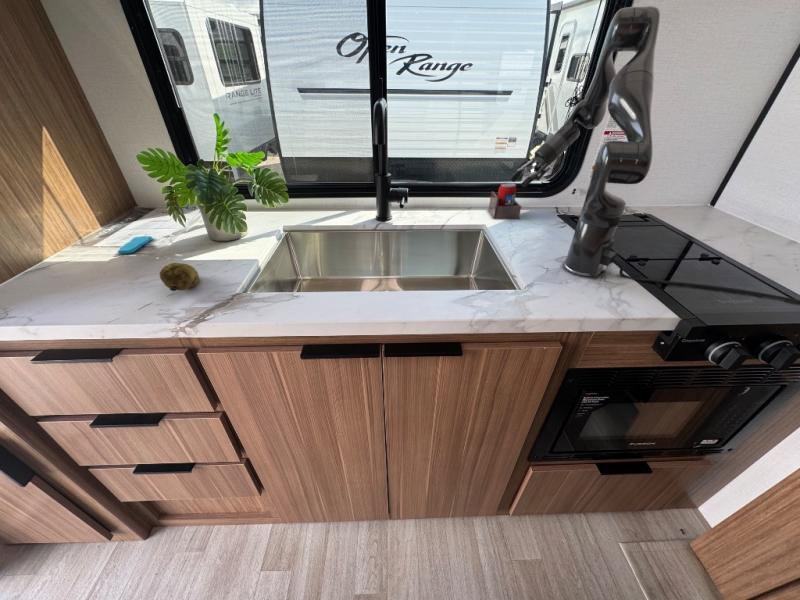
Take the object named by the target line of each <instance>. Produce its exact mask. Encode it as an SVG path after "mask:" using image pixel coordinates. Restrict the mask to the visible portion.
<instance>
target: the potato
mask: <svg viewBox="0 0 800 600" xmlns="http://www.w3.org/2000/svg"><path fill="white" fill-rule="evenodd" d="M159 278H160V281H161V282H162V283H163V285H165V287H167V288H168V289H169V290H170V291H171V292H176V291H186V290H187V289H190V288H193V287H195V286H196V285H197V284H198V283H199V279H200V276H199V272H198V271H197V269H196V268H194V267H193V266H192V265H190V264H188V263H181V262H171V263H168V264H166V265H164V266H163V267H162V269H160V271H159Z"/></svg>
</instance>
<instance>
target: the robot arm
mask: <svg viewBox="0 0 800 600" xmlns="http://www.w3.org/2000/svg"><path fill="white" fill-rule="evenodd" d="M660 20H661V11H660V9H659V7H657V6H652V5H649V6H646V5H645V6H643V5H642V6H629V7H628V6H627V7H622V8H620V9H619V10H617V11H616V13H615V14H614V16H613V18H612V20H611V22H610V24H609V27H608V29H607V32H606V35H605V39H604V42H603V45H602V48H601V51H600V54H599V57H598V61H597V64H596V67H595V68H596V69H595V72H594V74H593V78H592V80H591V82H590V85H589V87H588V90H587V92H586V94H585V96H584V99H582V100H580V101H579V102H578V103H577V104H576V106H575V107H574V109H573V110H572V112H571V114H570V115H569V117H568V118H567V119H566V121H565V122H564V124H562V126H561V127H559V129H557V131H556V132H555V133H554V134H553V135H551V136H550V137H548V138H547V140H546V141H545V142H543V144H541V146H539V148H538V149H537V150H535V151H534V156H533V157H532V158H530V157H529V156H527V157H525V158H524V159H523V161H521V162H520V163H519V164H518V165H517V166H516V167H515V169H516V172H515V173H514V174H513V175H511V177H510V181H512V183H515V182H516V181H517V180H518V179H519V178H520V177H521V176H522V175H524V174H528V173H530V174H529V175H528V176H527V177H526V178H524V180H523V181H522V182H520V183H521V184H520V185H521V186H522V187H523V188H526V187H528V186H529V185H530V184H531V183H532V182H534V181H540V179H542V177H544V176H545V175H546V173H548V171H550V170H551V167H550V165H552V164H553V163H554V162H555V161H556V160H557V159H558V158H559V157H560V156H561V155H562V154H564V152H565V151H566V149H568V148H569V147H570V146H571V145H572V144H573V142H575V141H576V140H577V139H578V138H579V136H580V134H581V132H580V129H579V127H578V126H577V124H576V122H578V123H579V124H580V125H581V126H583V127H584V128H586V129H588V130H591V129H595V128H596V127H598V126H599V125H600V124H601V123H602V121H603V120H604V118H605V116H606V111H608V113H609V115H610V117H611V119H612V120H613V122H614V123H615V124H616V125H617V126H618V128H619V129H620V130H621V131H622V132H623V134H624V136H625V138H626V140H627V141H624V140H609V141H606V142H604V144H602V146H601V147H600V149H599V151H598V153H597V154H596V155H597V156H596V158H595V162H594V165H593V170H592V174H591V178H590V181H589V185H588V188H587V192H586V195H585V199H584V202H583V205H582V208H581V211H580V215H579V217H578V219H577V223H576V227H575V230H574V233H573V237H572V239H571V242H570V245H569V249H568V252H567V255H566V258H565V261H564V263H563V268H564V269H565V270H566V271H568V272H569V273H571V274H574V275H578V276H582V277H590V278H593V279H594V278H596V277H597V276H598V275H600V273H602V272H603V270H604V269H605V266H606V267H608V266H610V265H611V264H612V263H614V264H615V265H617V266H618V268H619V271H618V274H619V276H621V277H623V278H627V279H631V280H635V281H641V282H651V283H658V284H666V285H676V286H677V285H678V286H687V287H688V286H689V287H690V286H691V287H697V288H706V289H715V290H723V291H729V292H736V293H742V294H748V295H749V294H750V295H756V296H760V297H765V298H766V297H767V298H772V299H777V300H782V301H788V302H792V303H797V304H800V299H796V298H791V297H786V296H782V295H775V294H771V293H766V292H759V291H754V290H747V289H740V288H733V287H726V286H720V285H718V286H717V285H711V284H703V283H702V284H701V283H694V282H693V283H692V282H685V281H684V282H683V281H673V280H662V279H661V280H660V279H655V278H642V277H633V276H629V275H626V274H625V273H624V272H623V271H624V266H623V265H622V264H621V263H620V262H619V261H618V260H616V256H617V255H618V252H616V251H613V250H612V247H613V245H614V243H615V240H614V237H615V235H616V231H617V229H618V226H619V223H620V221H621V220H622V219H621V218H622V216H623V214H624V211H625V209H626V205H627V203H626V201H625V200H624V199H623V198H621V197H619V196H618V195H615V194H613V193H611V192H609V191H608V190H607V185H608V184H617V185H636V184H640V183H641V182H643V181H644V180H645V179H646V177H647V176H648V174H649V172H650V170H651V165H652V162H653V153H654V149H653V148H654V147H653V133H652V132H653V131H652V103H653V95H654V80H655V79H654V70H655V69H654V67H655V54H656V53H655V52H656V46H657V41H658V34H659V28H660V22H661V21H660ZM614 52H616V53H617V52H620V53H621V52H634V53H635V54H634V55H633V57H631V59H629V60H628V61H627V63H625V64H624V65H623V66H622V67H621V69H619V71H617V70H616V67H615V65H614V60H613V54H614ZM616 71H617V72H616Z"/></svg>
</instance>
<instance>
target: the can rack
mask: <svg viewBox="0 0 800 600" xmlns="http://www.w3.org/2000/svg"><path fill="white" fill-rule="evenodd" d="M489 198H490V199H489V205H488V212H489V214H490V215H491V216H492V218H493V219H494V220H496V219H497V220H499V219H500V220H518V219H519V218H520V214H521V209H522V205H520V203H519V202H517V201H516V200H515V201H514V206H498V204H499V197H498V194H496V193H495V192H494V191H490V197H489Z"/></svg>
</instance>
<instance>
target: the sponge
mask: <svg viewBox="0 0 800 600" xmlns="http://www.w3.org/2000/svg"><path fill="white" fill-rule="evenodd" d="M152 240H153V236H150V235H145V236H135V237H133V238H132V239H130V240H129V241H128V242H126V243H125V244H123V245H122V246H121V247H120V248H119V249H118V251H117V252H118V254H119V255H122V254H123V255H124V254H133V253H135V252H136V251H137V250H139V249H140V248H142V247H143V246H145V244H148V243H149V242H150V241H152Z"/></svg>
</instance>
